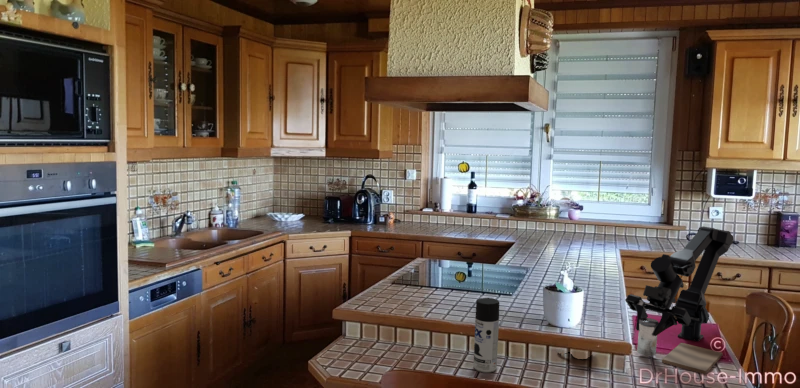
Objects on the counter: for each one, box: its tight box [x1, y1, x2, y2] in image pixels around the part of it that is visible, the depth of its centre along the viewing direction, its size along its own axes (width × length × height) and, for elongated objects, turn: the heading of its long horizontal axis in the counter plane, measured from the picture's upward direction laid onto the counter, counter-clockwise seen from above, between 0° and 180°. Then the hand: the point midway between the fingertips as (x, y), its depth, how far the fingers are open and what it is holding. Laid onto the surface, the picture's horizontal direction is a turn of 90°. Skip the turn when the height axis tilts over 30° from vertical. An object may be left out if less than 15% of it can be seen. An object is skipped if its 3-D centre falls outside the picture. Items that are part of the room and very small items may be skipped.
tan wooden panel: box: [661, 342, 723, 375], centre depth 184 cm, size 18×12×1 cm, turn 139°
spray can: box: [472, 297, 500, 374], centre depth 173 cm, size 7×7×20 cm
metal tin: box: [636, 317, 660, 357], centre depth 184 cm, size 5×5×10 cm
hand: (645, 332), depth 183 cm, fingers closed on metal tin, 5 cm apart
